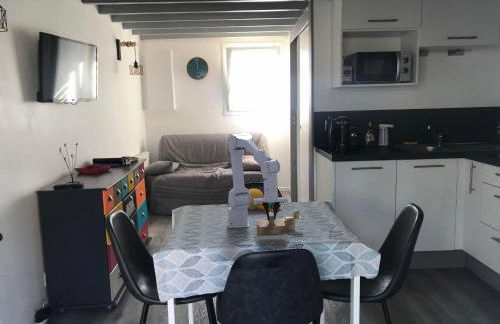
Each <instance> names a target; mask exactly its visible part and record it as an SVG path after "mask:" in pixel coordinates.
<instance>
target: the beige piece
mask: <svg viewBox="0 0 500 324" xmlns="http://www.w3.org/2000/svg"><path fill="white" fill-rule="evenodd" d="M292 211H293V216H284V217H285V218H284V219H286V220H295V221H301V220H302V217H301V216H300V211H301V210H299V209H294V210H292Z"/></svg>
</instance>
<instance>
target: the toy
mask: <svg viewBox="0 0 500 324" xmlns="http://www.w3.org/2000/svg"><path fill="white" fill-rule="evenodd" d="M248 190H249V193H250V196H251V203H250V205H249V207H248V209H249V210H251V211H254V210H257V209H258V210H261V211H265V209H264V207H263V204H254V199H258V198H264V192H262V190H261V189H258V188H249V189H248ZM279 196H281V193H280V192H279V193H278V197H279ZM268 204H269V212H274V210H272V209H274V207H273V203H268ZM281 204H282V203H280V207H279V209H280V208H281Z"/></svg>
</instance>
